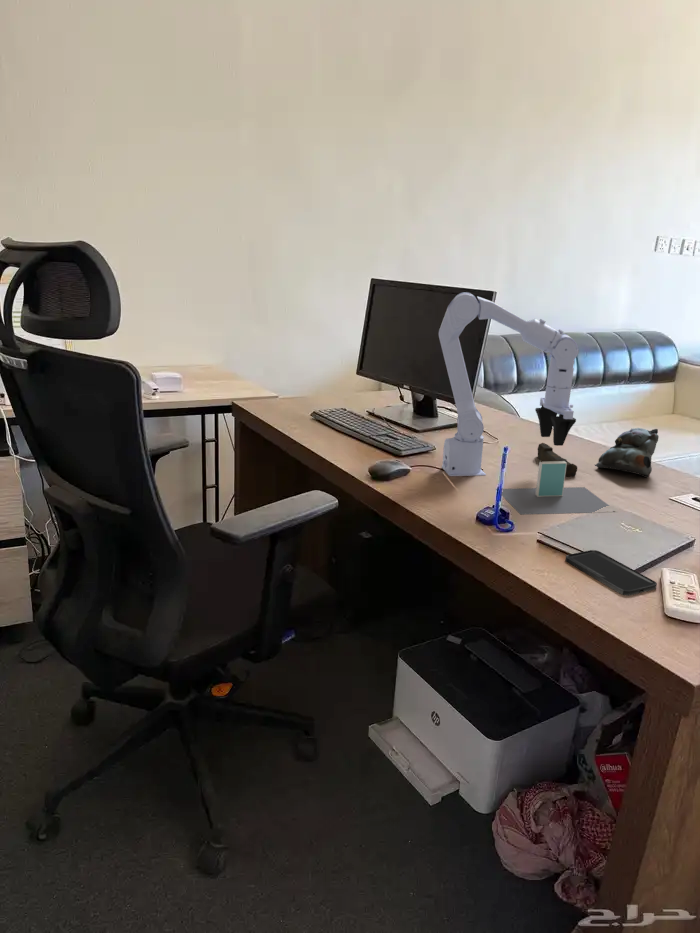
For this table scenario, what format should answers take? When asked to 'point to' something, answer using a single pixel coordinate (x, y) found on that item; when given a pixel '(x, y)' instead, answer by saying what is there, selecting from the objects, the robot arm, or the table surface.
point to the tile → (551, 478)
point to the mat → (553, 501)
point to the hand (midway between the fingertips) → (551, 440)
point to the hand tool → (555, 459)
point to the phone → (611, 572)
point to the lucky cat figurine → (631, 452)
